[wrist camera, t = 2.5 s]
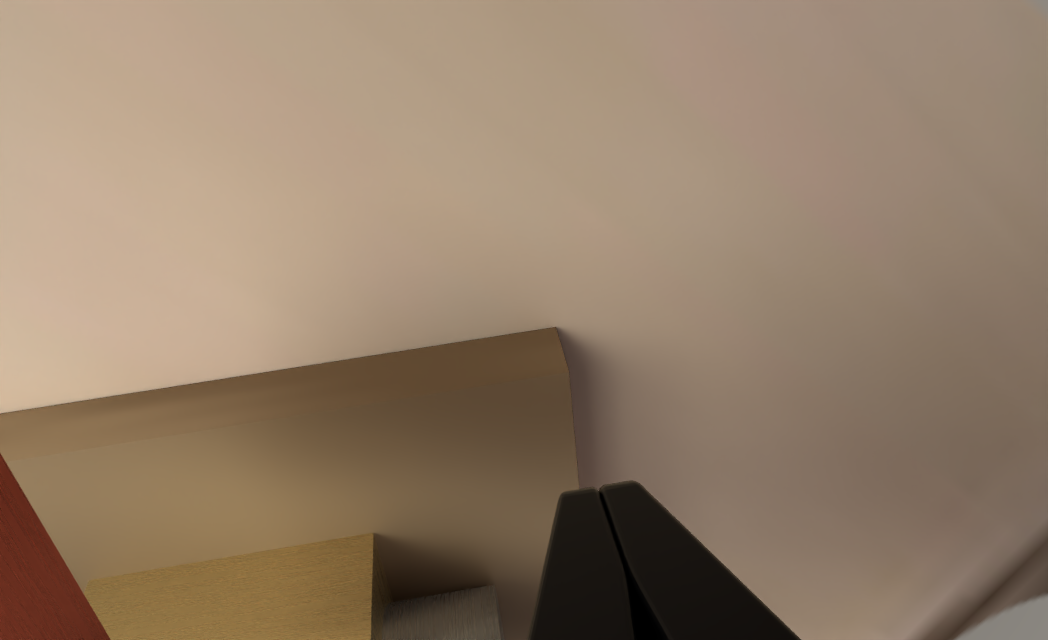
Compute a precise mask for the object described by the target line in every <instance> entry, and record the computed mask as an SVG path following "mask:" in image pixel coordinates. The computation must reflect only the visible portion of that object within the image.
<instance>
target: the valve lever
mask: <svg viewBox="0 0 1048 640" xmlns="http://www.w3.org/2000/svg"><path fill="white" fill-rule="evenodd" d="M0 640H111V639H110V638H109V636H108V634H107V633H106V631H105V629H104V627H103V626H102V624H101V622H100V621H99V619H98V617H97V616H96V614H95V612H94V611H93V609H92V607H91V605H90V604H89V602H88V600H87V599H86V597H85V595H84V594H83V592H82V590H81V589H80V587H79V585H78V583H77V582H76V580H75V578H74V577H73V575H72V573H71V572H70V570H69V568H68V567H67V565H66V563H65V561H64V560H63V558H62V556H61V555H60V553H59V551H58V550H57V548H56V546H55V545H54V543H53V541H52V539H51V538H50V536H49V534H48V533H47V531H46V529H45V528H44V526H43V524H42V523H41V521H40V519H39V517H38V516H37V514H36V512H35V511H34V509H33V507H32V506H31V504H30V502H29V501H28V499H27V497H26V495H25V494H24V492H23V490H22V489H21V487H20V485H19V484H18V482H17V480H16V479H15V477H14V475H13V473H12V472H11V470H10V468H9V467H8V465H7V463H6V462H5V460H4V458H3V457H2V455H1V453H0Z"/></svg>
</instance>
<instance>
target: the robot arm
mask: <svg viewBox="0 0 1048 640" xmlns="http://www.w3.org/2000/svg"><path fill="white" fill-rule="evenodd" d="M527 640H801V639H800V638H799V637H798V636H797V635H796V634H795V633H794V632H793V631H792V630H791V629H790V628H788V627H787V626H786V625H785V624H784V623H783V622H782V621H781V620H780V619H779V618H778V617H777V616H776V615H775V614H774V613H773V612H772V611H771V610H770V609H769V608H768V607H767V606H766V605H765V604H764V603H763V602H762V601H761V600H760V599H759V598H757V597H756V596H755V595H754V594H753V593H752V592H751V591H750V590H749V589H748V588H747V587H746V586H745V585H744V584H743V583H742V582H741V581H740V580H739V579H738V578H737V577H736V576H735V575H734V574H733V573H732V572H731V571H730V570H729V569H728V568H727V567H725V566H724V565H723V564H722V563H721V562H720V561H719V560H718V559H717V558H716V557H715V556H714V555H713V554H712V553H711V552H710V551H709V550H708V549H707V548H706V547H705V546H704V545H703V544H702V543H701V542H700V541H699V540H698V539H697V538H696V537H694V536H693V535H692V534H691V533H690V532H689V531H688V530H687V529H686V528H685V527H684V526H683V525H682V524H681V523H680V522H679V521H678V520H677V519H676V518H675V517H674V516H673V515H672V514H671V513H670V512H669V511H668V510H667V509H666V508H665V507H663V506H662V505H661V504H660V503H659V502H658V501H657V500H656V499H655V498H654V497H653V496H652V495H651V494H650V493H649V492H648V491H647V490H646V489H645V488H644V487H643V486H642V485H641V484H640V483H638V482H636V481H625V482H619V483H613V484H607V485H603V486H602V487H601V488H600V490H599V491H598V490H597V489H596V488H594V487H589V488H583V489H577V490H571V491H565V492H563V493H562V494H561V495H560V496H559V499H558V503H557V508H556V512H555V516H554V521H553V525H552V530H551V534H550V539H549V543H548V548H547V552H546V557H545V561H544V566H543V570H542V574H541V579H540V583H539V588H538V592H537V597H536V601H535V606H534V610H533V615H532V619H531V624H530V628H529V632H528V637H527Z"/></svg>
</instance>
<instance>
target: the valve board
mask: <svg viewBox="0 0 1048 640" xmlns="http://www.w3.org/2000/svg"><path fill="white" fill-rule="evenodd" d="M0 453H1V455H2V457H3V458H4V460H5V462H6V463H7V465H8V467H9V468H10V470H11V472H12V473H13V475H14V477H15V479H16V480H17V482H18V484H19V485H20V487H21V489H22V490H23V492H24V494H25V495H26V497H27V499H28V501H29V502H30V504H31V506H32V507H33V509H34V511H35V512H36V514H37V516H38V517H39V519H40V521H41V523H42V524H43V526H44V528H45V529H46V531H47V533H48V534H49V536H50V538H51V539H52V541H53V543H54V545H55V546H56V548H57V550H58V551H59V553H60V555H61V556H62V558H63V560H64V561H65V563H66V565H67V567H68V568H69V570H70V572H71V573H72V575H73V577H74V578H75V580H76V582H77V583H78V585H79V587H80V589H81V590H82V592H83V594H84V592H85V589H86V587H87V584H88V581H89V580H93V579H99V578H105V577H111V576H117V575H123V574H129V573H135V572H141V571H147V570H153V569H159V568H165V567H171V566H177V565H183V564H189V563H195V562H201V561H207V560H213V559H219V558H225V557H231V556H236V555H242V554H248V553H254V552H260V551H266V550H272V549H278V548H284V547H290V546H296V545H302V544H308V543H314V542H320V541H326V540H332V539H338V538H344V537H350V536H356V535H362V534H368V533H374V536H375V540H376V544H377V547H378V551H379V554H380V558H381V561H382V565H383V568H384V572H385V575H386V579H387V582H388V586H389V589H390V593H391V596H392V600H393V602H397V601H403V600H409V599H414V598H420V597H426V596H432V595H438V594H443V593H449V592H455V591H461V590H467V589H472V588H478V587H484V586H490V585H495V589H496V594H497V599H498V605H499V610H500V616H501V622H502V628H503V635H504V640H527V637H528V632H529V628H530V624H531V619H532V615H533V610H534V606H535V601H536V597H537V592H538V588H539V583H540V579H541V574H542V570H543V566H544V561H545V557H546V552H547V548H548V543H549V539H550V534H551V530H552V525H553V521H554V516H555V512H556V508H557V503H558V499H559V496H560V495H561V494H562V493H563V492H565V491H571V490H577V489H579V479H578V468H577V456H576V445H575V433H574V422H573V410H572V399H571V388H570V376H569V370H568V366H567V363H566V360H565V356H564V353H563V350H562V346H561V343H560V339H559V336H558V333H557V329H556V327H554V328H547V329H541V330H535V331H528V332H522V333H515V334H509V335H503V336H496V337H490V338H483V339H477V340H471V341H464V342H458V343H451V344H445V345H439V346H432V347H426V348H419V349H413V350H407V351H400V352H394V353H387V354H381V355H375V356H368V357H362V358H355V359H349V360H343V361H336V362H330V363H323V364H317V365H311V366H304V367H298V368H291V369H285V370H279V371H272V372H266V373H259V374H253V375H247V376H240V377H234V378H227V379H221V380H215V381H208V382H202V383H195V384H189V385H183V386H176V387H170V388H163V389H157V390H151V391H144V392H138V393H131V394H125V395H119V396H112V397H106V398H99V399H93V400H87V401H80V402H74V403H67V404H61V405H55V406H48V407H42V408H35V409H29V410H23V411H16V412H10V413H3V414H0Z"/></svg>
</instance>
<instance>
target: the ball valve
mask: <svg viewBox="0 0 1048 640" xmlns="http://www.w3.org/2000/svg"><path fill="white" fill-rule="evenodd" d="M84 595H85V597H86V599H87V600H88V602H89V604H90V605H91V607H92V609H93V611H94V612H95V614H96V616H97V617H98V619H99V621H100V622H101V624H102V626H103V627H104V629H105V631H106V633H107V634H108V636H109V638H110V639H111V640H504V635H503V628H502V622H501V616H500V610H499V605H498V599H497V594H496V589H495V585H490V586H484V587H478V588H472V589H467V590H461V591H455V592H449V593H443V594H438V595H432V596H426V597H420V598H414V599H409V600H403V601H397V602H393V600H392V596H391V593H390V589H389V586H388V582H387V579H386V575H385V572H384V568H383V565H382V561H381V558H380V554H379V551H378V547H377V544H376V540H375V536H374V533H368V534H362V535H356V536H350V537H344V538H338V539H332V540H326V541H320V542H314V543H308V544H302V545H296V546H290V547H284V548H278V549H272V550H266V551H260V552H254V553H248V554H242V555H236V556H231V557H225V558H219V559H213V560H207V561H201V562H195V563H189V564H183V565H177V566H171V567H165V568H159V569H153V570H147V571H141V572H135V573H129V574H123V575H117V576H111V577H105V578H99V579H93V580H89V581H88V584H87V587H86V589H85V592H84Z"/></svg>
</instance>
